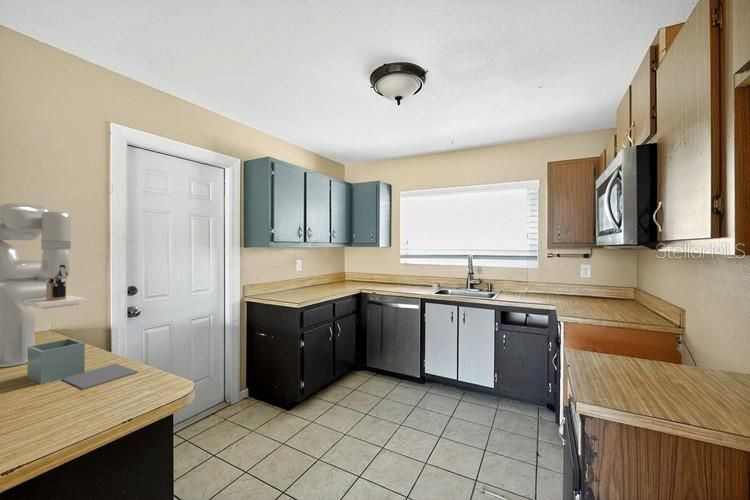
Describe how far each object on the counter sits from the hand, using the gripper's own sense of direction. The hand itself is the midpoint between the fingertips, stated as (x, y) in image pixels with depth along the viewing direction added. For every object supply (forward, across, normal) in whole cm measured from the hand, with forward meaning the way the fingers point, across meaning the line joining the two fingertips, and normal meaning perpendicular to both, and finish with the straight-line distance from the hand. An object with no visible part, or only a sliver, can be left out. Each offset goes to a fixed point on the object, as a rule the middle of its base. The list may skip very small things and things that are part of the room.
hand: (56, 296), depth 115 cm
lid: (+2, 0, 0) cm, 2 cm away
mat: (+29, +16, +7) cm, 33 cm away
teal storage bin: (+29, 0, 0) cm, 29 cm away
